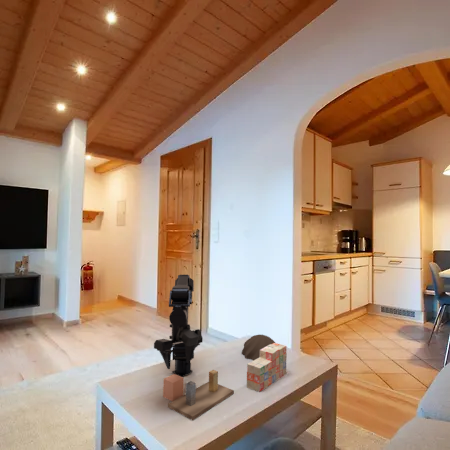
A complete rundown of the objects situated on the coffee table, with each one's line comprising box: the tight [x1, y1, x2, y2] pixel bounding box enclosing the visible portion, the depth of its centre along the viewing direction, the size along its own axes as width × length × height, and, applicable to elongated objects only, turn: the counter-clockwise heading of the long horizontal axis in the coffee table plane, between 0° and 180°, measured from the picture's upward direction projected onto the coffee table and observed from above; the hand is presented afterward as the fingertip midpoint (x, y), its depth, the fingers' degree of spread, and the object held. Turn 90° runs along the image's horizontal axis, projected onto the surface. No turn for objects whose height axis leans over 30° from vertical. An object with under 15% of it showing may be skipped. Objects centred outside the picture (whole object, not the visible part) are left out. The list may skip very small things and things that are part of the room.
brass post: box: [208, 369, 219, 393], centre depth 117 cm, size 2×2×8 cm
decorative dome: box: [241, 334, 276, 361], centre depth 156 cm, size 19×20×10 cm
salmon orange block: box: [162, 373, 185, 402], centre depth 115 cm, size 5×5×7 cm
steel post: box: [185, 380, 197, 406], centre depth 108 cm, size 2×2×8 cm
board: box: [167, 381, 235, 421], centre depth 112 cm, size 12×22×1 cm, turn 141°
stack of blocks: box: [246, 342, 287, 393], centre depth 128 cm, size 21×6×12 cm, turn 141°
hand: (178, 366), depth 113 cm, fingers open, 9 cm apart
